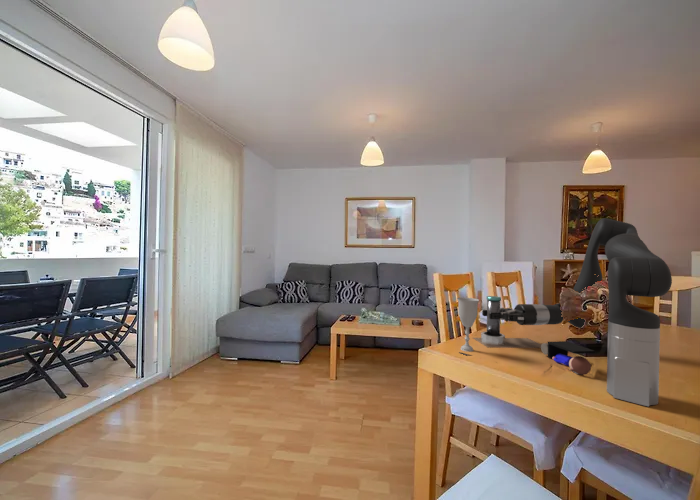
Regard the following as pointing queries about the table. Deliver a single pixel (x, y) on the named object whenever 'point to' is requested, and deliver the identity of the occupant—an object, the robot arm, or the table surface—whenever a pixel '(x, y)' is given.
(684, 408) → the table surface
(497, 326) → the dark jar with lid
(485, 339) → the collar
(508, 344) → the grey flat rectangular plate
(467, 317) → the chalice
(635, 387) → the robot arm
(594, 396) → the table surface
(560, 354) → the figurine character
